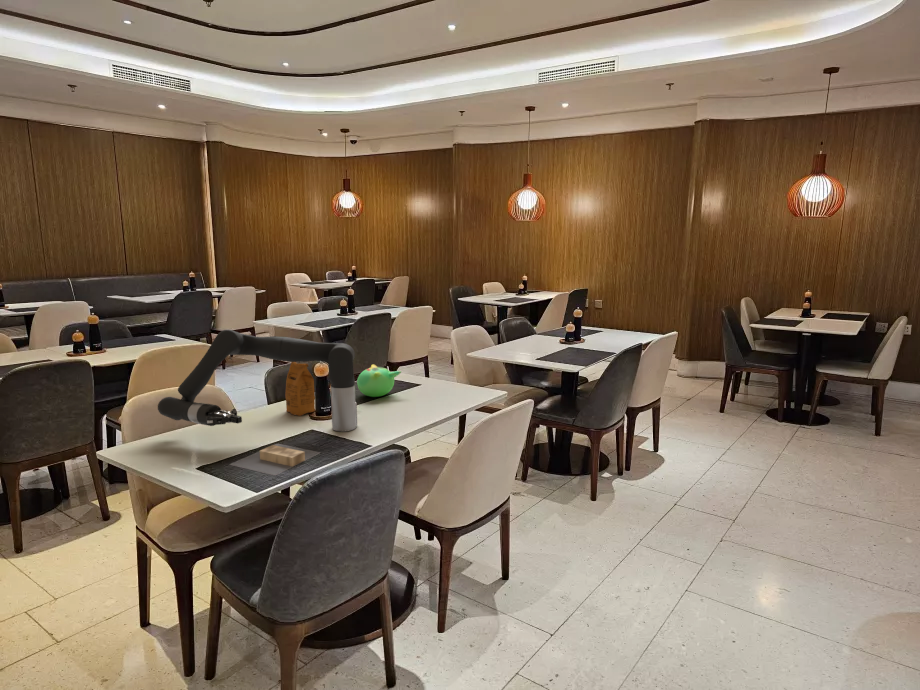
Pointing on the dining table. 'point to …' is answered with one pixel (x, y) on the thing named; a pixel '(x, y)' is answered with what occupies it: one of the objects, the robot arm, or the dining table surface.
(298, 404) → the coffee package
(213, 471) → the dining table surface
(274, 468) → the charcoal placemat
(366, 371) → the toy bird
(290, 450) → the oak card block
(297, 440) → the dining table surface
